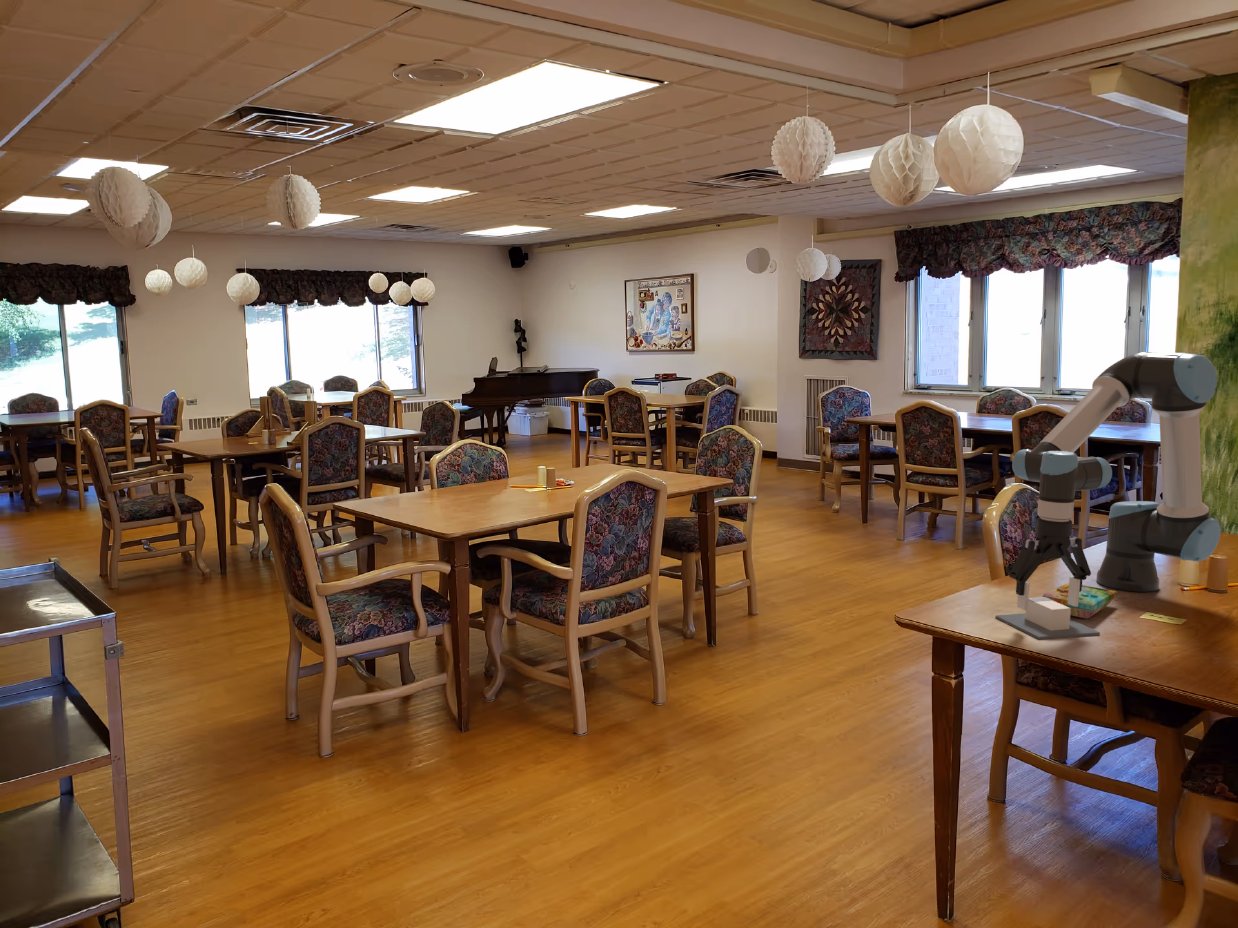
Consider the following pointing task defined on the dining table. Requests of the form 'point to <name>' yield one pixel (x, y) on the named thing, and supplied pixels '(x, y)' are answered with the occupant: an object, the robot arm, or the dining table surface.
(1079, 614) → the puzzle game
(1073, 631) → the mat
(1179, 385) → the robot arm
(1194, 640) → the dining table surface
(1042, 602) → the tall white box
